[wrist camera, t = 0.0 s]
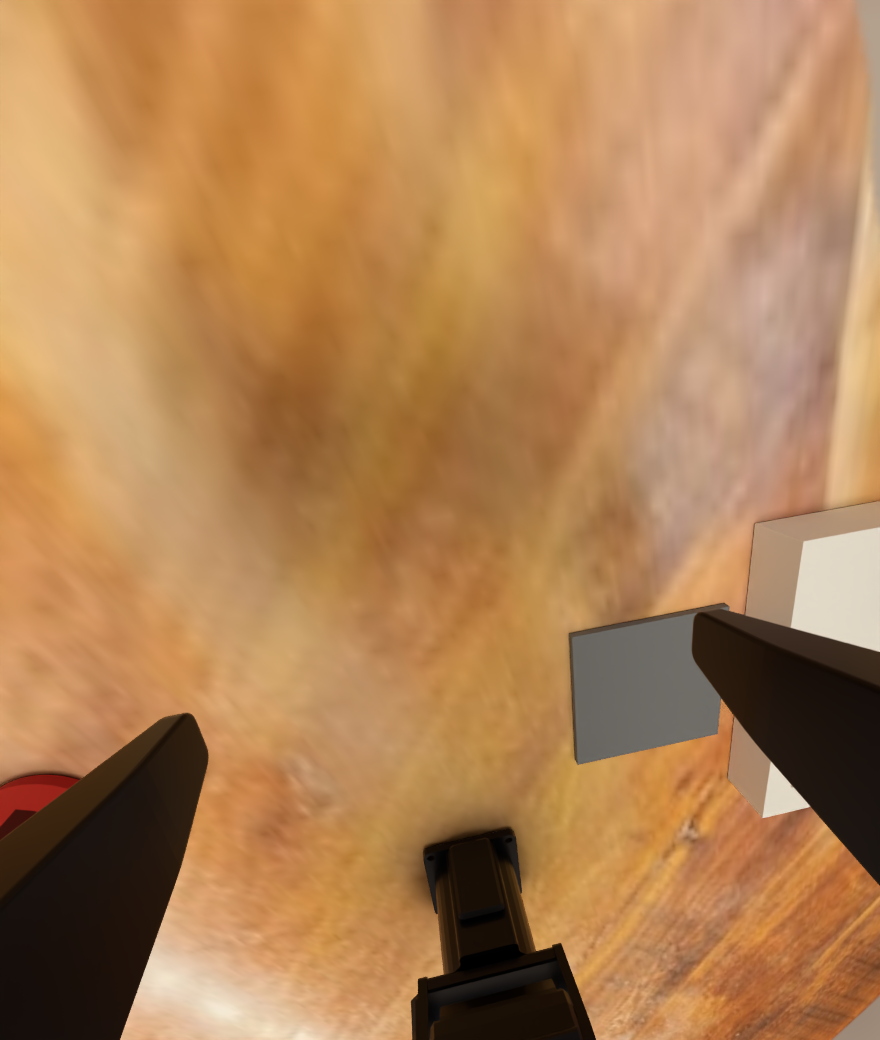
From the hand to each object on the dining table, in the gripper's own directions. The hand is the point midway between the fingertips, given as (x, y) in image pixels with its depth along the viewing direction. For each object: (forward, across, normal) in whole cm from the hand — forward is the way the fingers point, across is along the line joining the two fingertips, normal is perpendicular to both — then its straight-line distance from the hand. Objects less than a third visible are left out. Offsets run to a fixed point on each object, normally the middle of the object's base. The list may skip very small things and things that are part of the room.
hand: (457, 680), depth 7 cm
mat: (+15, -13, +15) cm, 25 cm away
